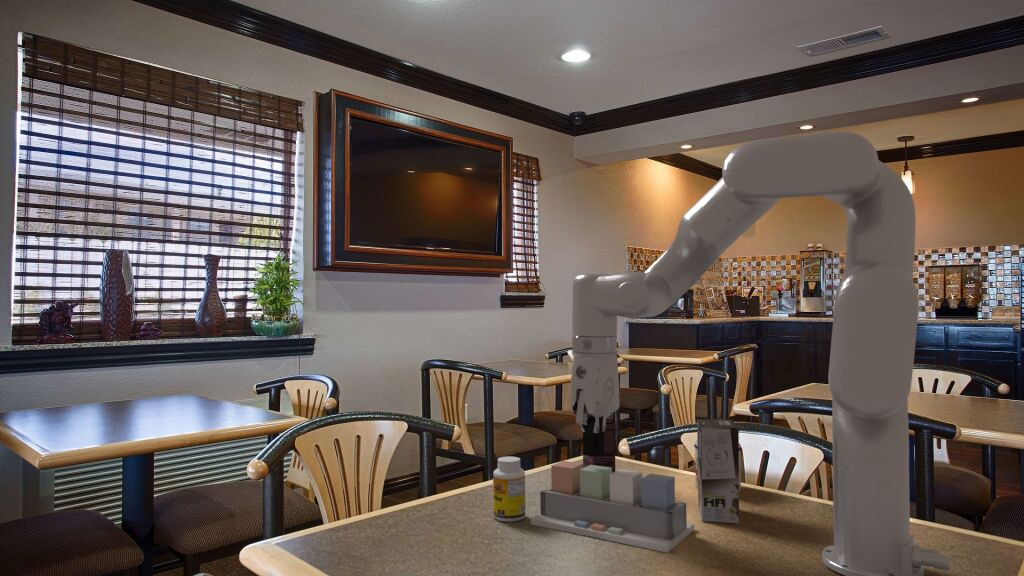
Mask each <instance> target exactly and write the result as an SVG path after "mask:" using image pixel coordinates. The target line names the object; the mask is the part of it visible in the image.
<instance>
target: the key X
mask: <svg viewBox="0 0 1024 576" xmlns="http://www.w3.org/2000/svg"><path fill="white" fill-rule="evenodd" d="M642 478H643V471H636V470H631V469H630V470H629V469H622V468H619V469H617V470H615V472H613V473H611V474H610V501H611V502H616V503H622V504H628V505H636V504H637V503H639V502H641V501H642V486H641V479H642Z"/></svg>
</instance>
